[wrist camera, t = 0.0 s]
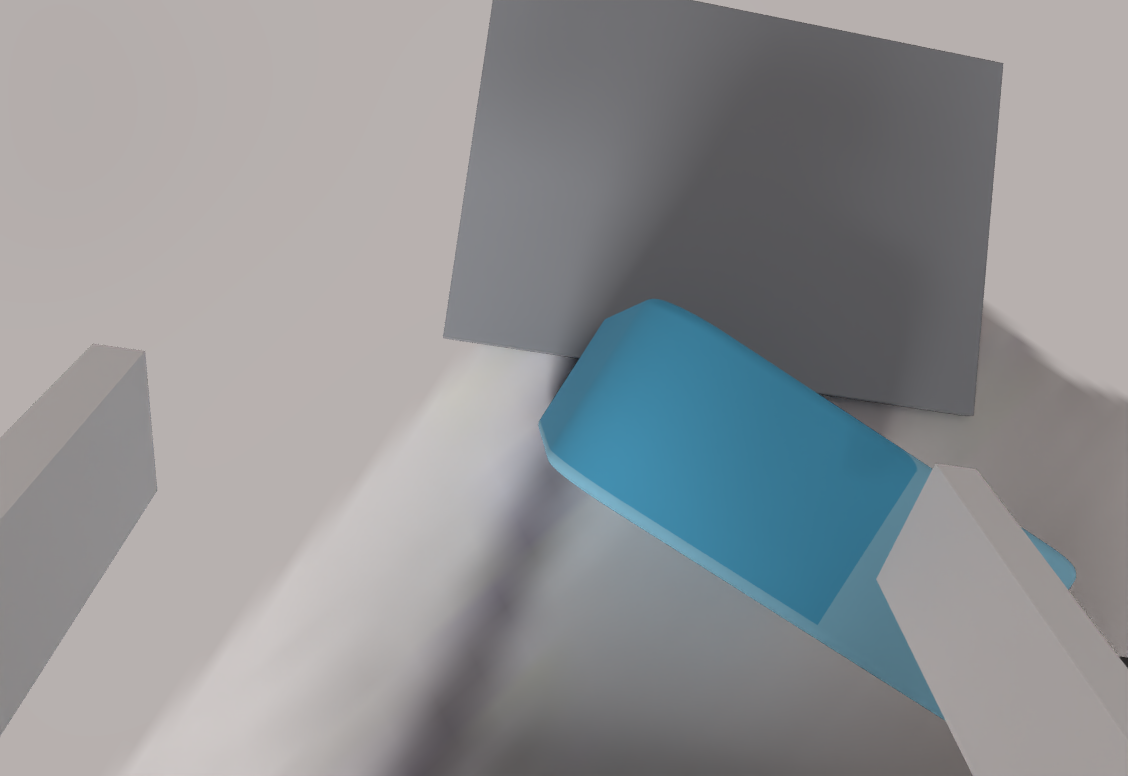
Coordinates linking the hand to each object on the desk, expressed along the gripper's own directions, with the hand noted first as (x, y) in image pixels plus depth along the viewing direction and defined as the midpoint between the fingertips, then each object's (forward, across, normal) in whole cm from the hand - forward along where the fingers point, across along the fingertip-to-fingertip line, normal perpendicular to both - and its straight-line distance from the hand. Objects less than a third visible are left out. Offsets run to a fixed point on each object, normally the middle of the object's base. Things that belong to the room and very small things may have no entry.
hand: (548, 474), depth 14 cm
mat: (+19, -7, 0) cm, 20 cm away
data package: (+13, -7, +8) cm, 17 cm away
